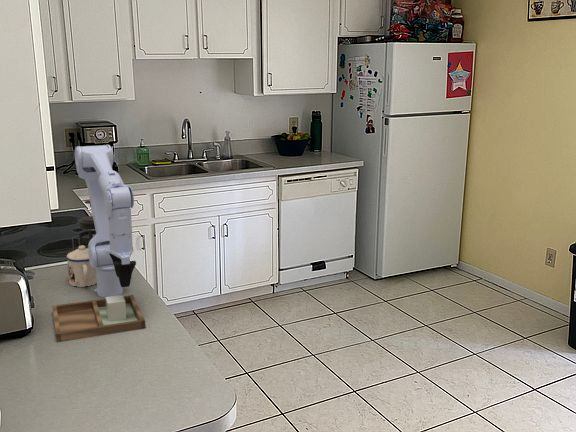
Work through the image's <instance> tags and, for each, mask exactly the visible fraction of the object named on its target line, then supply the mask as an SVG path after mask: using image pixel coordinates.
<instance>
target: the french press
mask: <svg viewBox="0 0 576 432" xmlns="http://www.w3.org/2000/svg"><path fill="white" fill-rule="evenodd" d="M83 203H84V204H88V205H89V207H90V211H91V212H90V213H91V215H88V216H83V217H81V218H78V219H77V223H78V224H79V225H78V226H79V228H80V229H82V230H85V231H82V232H80V233H79V234H78V235H74V236H72V237H71V240H72V241H71V242H72V251H75V250H76V248H75V247H76V246H75V239H78V244H79V246H81V242H82V243H83V242H84V243H89V241H90V240H91V239H92V238H93V237H94V236H95V235H96V230H95V225H94V219H93V214H92V209H91V203H90V199H89V200H85V201H84V202H83ZM85 236H88V237H85ZM79 246H78V247H79ZM86 248H87V249H88V247H86Z"/></svg>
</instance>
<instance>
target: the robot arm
mask: <svg viewBox="0 0 576 432" xmlns="http://www.w3.org/2000/svg"><path fill="white" fill-rule="evenodd" d="M114 160H115V159H114V151H113V147H112V146H111V145H110V144H105V145H85V146H79V145H77V146H76V147H75V148H74V162H75V163H74V164H75V167H76V172H77V174H78V178H79V179H82V180H84V181H85V185H86V187H87V191H88V198H89V200H90V203H91V207H90V210H91V209H92V214H93V219H94V225H95V229H94V230H96V234H94V237H93V238H92V239H91V240H90V241H89V242H88V245H87V248H88V249H89V261H90V264H91V266H92V267H93V268H96V279H97V283H96V288H94V290H93V292H95V293H97V296H98V297H101V298H106V297H111V296H118V295H123V293H124V288H127V287H130V285H131V282H132V275H133V272H134V269H135V267H136V265H137V261H136V260H131V259H130V258H131V255H132V254H133V252H134V251H135V250H134V246H133V244H134V243H133V228H132V227H133V225H132V208H134V205H135V199H134V198H135V197H134V191H133V189H132V187H131V186H130V185H127V184H125V183H124V181H123V179H122V177H121V175H120V174H119V173H118V171H115V170H113V164H114ZM92 214H91V215H92Z"/></svg>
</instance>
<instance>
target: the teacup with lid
mask: <svg viewBox="0 0 576 432" xmlns="http://www.w3.org/2000/svg"><path fill="white" fill-rule="evenodd" d="M87 248H88V247H86V246H85V245H83V244H82V245H81V246H78V248H75V251H73V250H72V251H70V252H68V253H67V255H66V257H65V258H66V261H67V271H68V272H67V273H68V282H69V285H70V286H72V287H74V286H77V287H76V288H86V287H85V286H88V287H92V286H93V285H97V279H96V268H93V267H92V266H91V264H90V261H89V249H87ZM91 285H92V286H91Z"/></svg>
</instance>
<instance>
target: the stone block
mask: <svg viewBox="0 0 576 432" xmlns="http://www.w3.org/2000/svg"><path fill="white" fill-rule="evenodd" d="M123 296H124V295H123V294H121V295H118V296H111V297H105V299H106V314H107V318H108V321H115V320H122V319H126V306H125V299H124V297H123Z"/></svg>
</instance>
